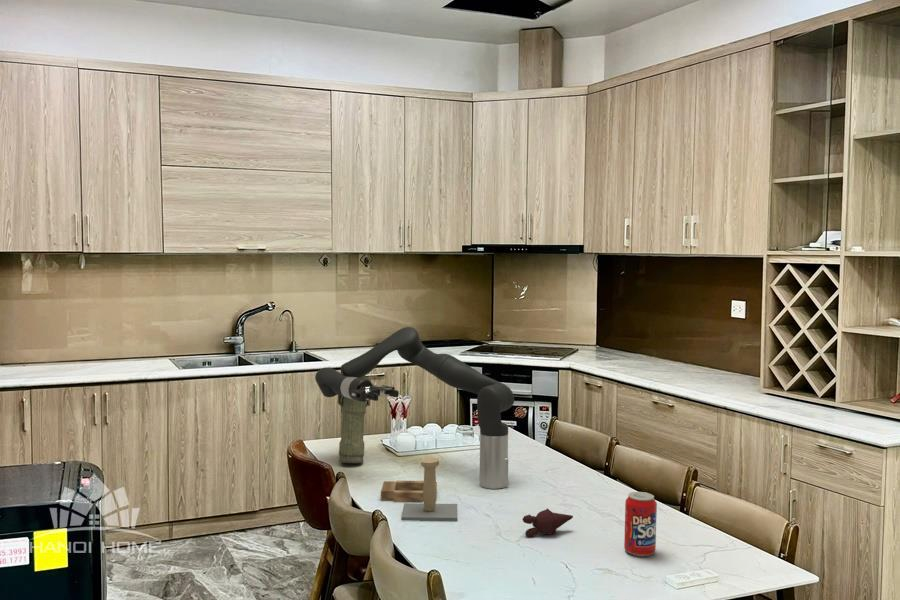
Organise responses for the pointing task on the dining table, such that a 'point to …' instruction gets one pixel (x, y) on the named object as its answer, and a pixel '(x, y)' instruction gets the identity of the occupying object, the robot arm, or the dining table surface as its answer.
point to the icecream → (545, 522)
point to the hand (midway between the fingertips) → (387, 395)
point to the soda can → (640, 524)
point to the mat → (439, 514)
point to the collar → (403, 491)
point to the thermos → (352, 429)
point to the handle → (429, 482)
